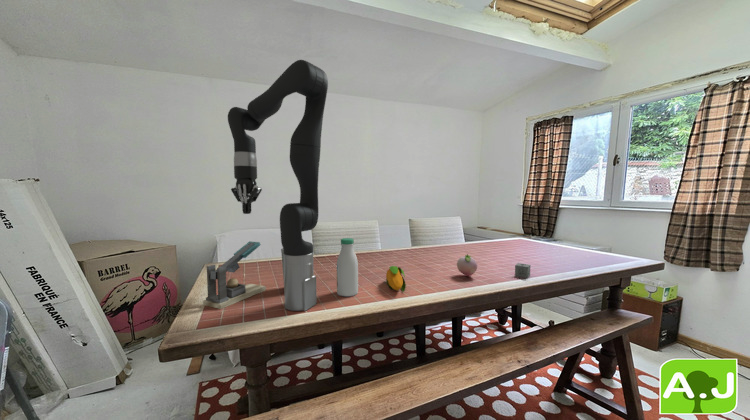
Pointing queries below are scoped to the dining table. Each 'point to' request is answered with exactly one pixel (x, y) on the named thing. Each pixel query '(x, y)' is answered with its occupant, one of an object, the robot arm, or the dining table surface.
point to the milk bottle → (347, 269)
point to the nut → (232, 283)
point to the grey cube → (522, 270)
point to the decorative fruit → (467, 265)
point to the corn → (395, 278)
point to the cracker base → (227, 290)
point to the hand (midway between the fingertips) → (246, 213)
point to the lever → (237, 258)
